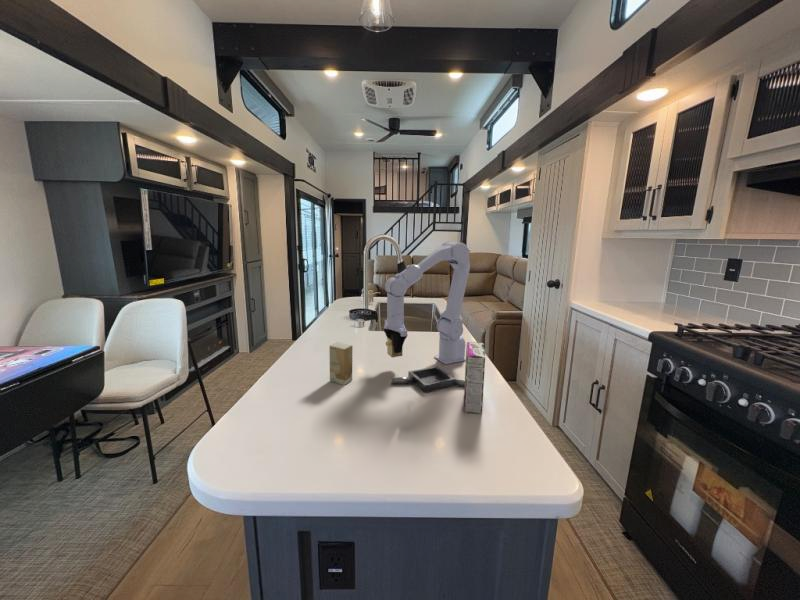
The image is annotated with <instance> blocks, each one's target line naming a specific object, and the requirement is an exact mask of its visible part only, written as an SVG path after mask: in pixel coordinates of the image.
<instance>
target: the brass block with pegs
mask: <svg viewBox="0 0 800 600" xmlns="http://www.w3.org/2000/svg"><path fill="white" fill-rule="evenodd" d="M386 339H387V341H385V346H386V347H387V349H386V350H387V352H386V353H387V355H388V356H389V357H391V358H397V357H398V358H399V357H402V356H403V349H402V350H401V352H400V353H395V351H394V343H393V339H392V337H388V338H387V337H386Z"/></svg>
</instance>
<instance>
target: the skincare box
mask: <svg viewBox="0 0 800 600" xmlns="http://www.w3.org/2000/svg"><path fill="white" fill-rule="evenodd" d="M329 381H330V382H334V383H336V384H340V385H343V386H345V385H347V384H349V383H350V382H352V381H353V345H352V344H348V343H344V342H338V341H336V342H334V343H332V344H330V345H329Z"/></svg>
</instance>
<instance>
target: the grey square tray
mask: <svg viewBox="0 0 800 600" xmlns="http://www.w3.org/2000/svg"><path fill="white" fill-rule="evenodd" d="M407 375H408V376H407V377H413V378H414V383H413V384H414V385H415V386H416V388H418V389H419V390H420V391H422V392H423V393H424V394H429V393H432V392H433V393H434V392H437V391H441V390H446V389H450V388H454V387H456V386H455V385H454V382H455V381H456V379H457V378H455V377H454V376H452V375H450V374H449V373H448V372H446V371H445V370H443V369H442V368H440V367H439V366H438V365H435V366H430V367H424V368H419V369H414V370H410V371H409V370H408V374H407Z"/></svg>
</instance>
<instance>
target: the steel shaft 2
mask: <svg viewBox="0 0 800 600" xmlns="http://www.w3.org/2000/svg"><path fill="white" fill-rule="evenodd" d="M455 379H456V381H455V382H454V385H455V387H463V388H465V379H457V378H455Z"/></svg>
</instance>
